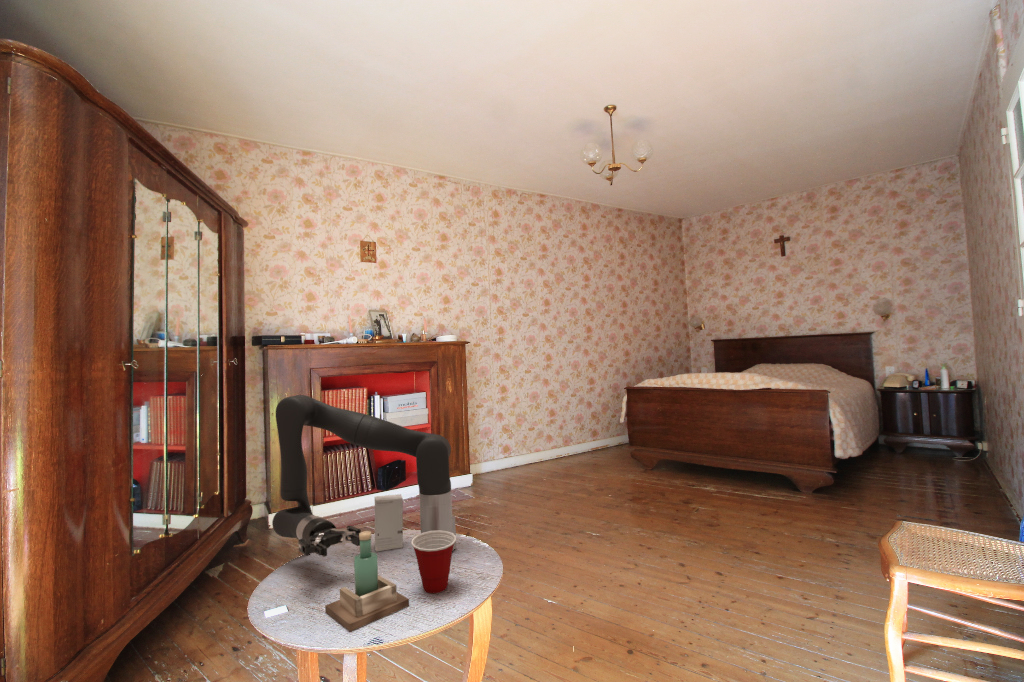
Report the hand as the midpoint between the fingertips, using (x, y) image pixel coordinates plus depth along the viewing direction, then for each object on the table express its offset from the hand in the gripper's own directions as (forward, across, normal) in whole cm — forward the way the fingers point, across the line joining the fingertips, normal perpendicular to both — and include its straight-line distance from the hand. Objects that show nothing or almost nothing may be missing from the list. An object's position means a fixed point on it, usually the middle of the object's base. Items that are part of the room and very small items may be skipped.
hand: (343, 546), depth 117 cm
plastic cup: (+15, +16, +11) cm, 25 cm away
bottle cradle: (+12, 0, +11) cm, 16 cm away
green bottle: (+12, 0, +10) cm, 15 cm away
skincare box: (-19, +23, +11) cm, 32 cm away
